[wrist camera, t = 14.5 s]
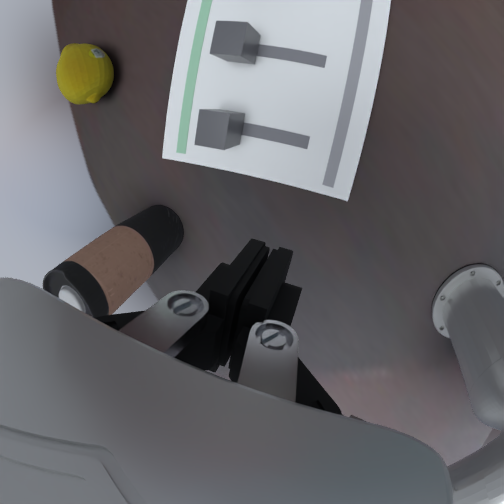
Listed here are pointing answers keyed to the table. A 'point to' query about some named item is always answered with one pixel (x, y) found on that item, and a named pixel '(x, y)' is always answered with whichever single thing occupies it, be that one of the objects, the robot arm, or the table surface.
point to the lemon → (84, 73)
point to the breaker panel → (282, 89)
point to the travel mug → (116, 262)
